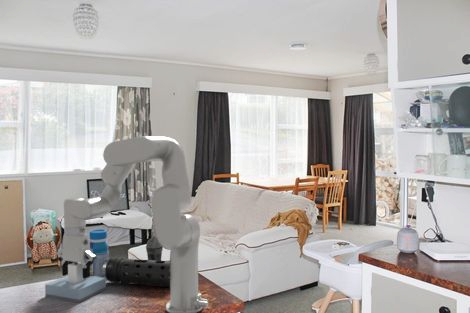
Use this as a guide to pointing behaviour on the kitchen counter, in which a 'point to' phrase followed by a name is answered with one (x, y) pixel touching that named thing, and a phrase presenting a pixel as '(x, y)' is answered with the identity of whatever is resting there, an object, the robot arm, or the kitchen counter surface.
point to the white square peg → (75, 273)
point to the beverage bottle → (98, 251)
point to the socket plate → (75, 288)
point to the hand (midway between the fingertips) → (76, 276)
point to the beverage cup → (154, 249)
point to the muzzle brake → (137, 271)
